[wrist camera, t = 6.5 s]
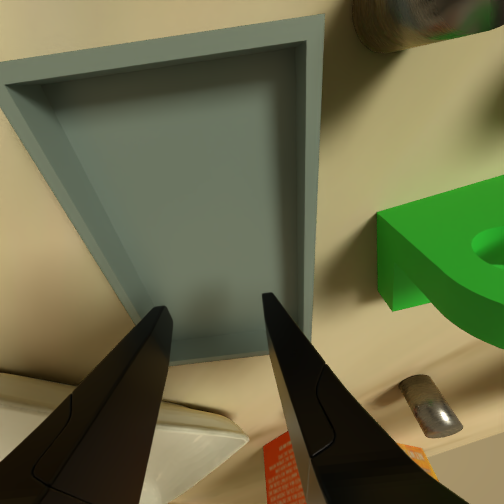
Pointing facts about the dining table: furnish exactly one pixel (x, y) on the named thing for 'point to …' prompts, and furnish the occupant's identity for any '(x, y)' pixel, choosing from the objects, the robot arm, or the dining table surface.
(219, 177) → the parts tray
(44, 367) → the dining table surface
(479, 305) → the mechanical part
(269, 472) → the pasta box
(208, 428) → the square plate
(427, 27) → the spacer posts
